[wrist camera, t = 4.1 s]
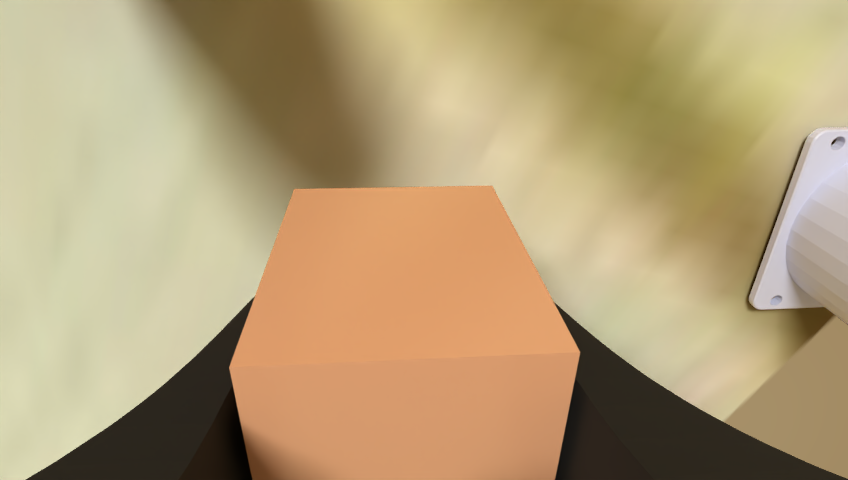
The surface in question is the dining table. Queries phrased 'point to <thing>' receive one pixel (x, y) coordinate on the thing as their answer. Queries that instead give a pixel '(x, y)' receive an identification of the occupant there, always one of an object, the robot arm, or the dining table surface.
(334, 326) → the peach foam cube
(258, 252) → the dining table surface
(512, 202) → the dining table surface
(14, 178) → the dining table surface
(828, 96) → the dining table surface
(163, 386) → the robot arm
